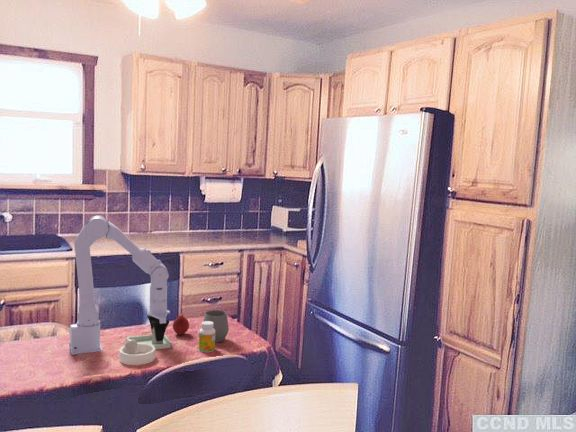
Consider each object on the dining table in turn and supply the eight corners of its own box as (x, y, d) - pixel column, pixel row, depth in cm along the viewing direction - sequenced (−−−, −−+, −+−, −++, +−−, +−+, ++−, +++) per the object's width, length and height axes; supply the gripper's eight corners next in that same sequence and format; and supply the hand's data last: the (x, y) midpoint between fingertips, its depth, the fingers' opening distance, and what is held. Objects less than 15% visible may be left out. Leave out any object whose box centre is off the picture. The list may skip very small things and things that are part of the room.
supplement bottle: (195, 352, 180) (196, 323, 179) (203, 347, 185) (204, 319, 184) (209, 354, 179) (210, 326, 178) (217, 349, 184) (218, 321, 183)
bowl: (122, 368, 164) (122, 357, 164) (116, 356, 174) (116, 345, 173) (158, 363, 169) (158, 352, 169) (150, 352, 179) (150, 341, 178)
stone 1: (126, 361, 168) (127, 342, 167) (122, 357, 171) (123, 338, 170) (138, 359, 170) (139, 340, 169) (134, 355, 173) (135, 336, 172)
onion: (186, 338, 193) (187, 316, 192) (170, 337, 193) (171, 315, 193) (190, 333, 199) (190, 312, 198) (174, 332, 199) (175, 311, 198)
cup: (231, 337, 196) (232, 310, 195) (224, 346, 187) (224, 318, 186) (206, 335, 198) (207, 308, 197) (197, 343, 189) (198, 315, 188)
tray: (132, 353, 176) (132, 347, 176) (126, 342, 186) (126, 337, 186) (171, 348, 182) (171, 343, 182) (163, 338, 192) (163, 333, 192)
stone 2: (153, 345, 183) (153, 327, 182) (150, 342, 186) (151, 324, 186) (164, 344, 185) (164, 326, 184) (161, 341, 188) (162, 323, 187)
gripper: (175, 303, 179) (174, 343, 181) (164, 293, 192) (164, 330, 194) (154, 305, 176) (153, 345, 178) (144, 294, 189) (144, 332, 190)
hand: (157, 338), depth 185 cm, fingers open, 5 cm apart
